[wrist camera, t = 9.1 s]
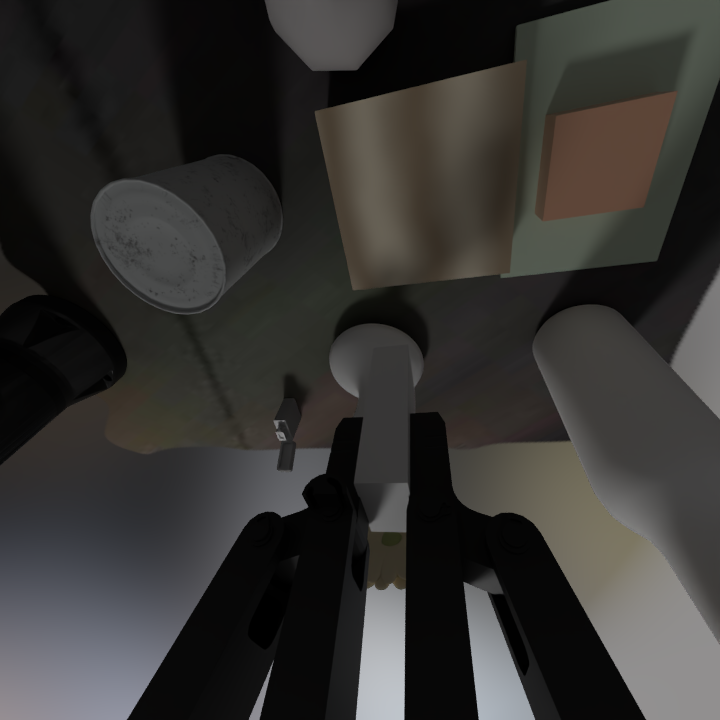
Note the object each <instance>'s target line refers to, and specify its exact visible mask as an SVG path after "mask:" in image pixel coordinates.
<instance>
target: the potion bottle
mask: <svg viewBox="0 0 720 720" xmlns="http://www.w3.org/2000/svg"><path fill="white" fill-rule="evenodd" d="M265 3H266V7H267V11H268V16H269V20H270V22H271V24H272V26H273V28H274V30H275V32H276V33H277V34H278V35H279V36H280V37H281V38H282V39H283V40H284V41H285V42H286V44H287V45H288V46H289V47H290V48H291V49H292V50H293V51H294V52H295V53H296V54H297V55H298V56H299V57H300V58H301V59H302V60H303V61H304V62H305V63H306V64H307V66H308V67H309V68H310V69H311V70H312V71H337V70H357V69H358V68H359V67H360V66H361V65H362V64H363V62H364V61H365V60H366V59H367V58H368V57H369V56H370V54H371V53H372V52H373V51H374V50H375V49H376V48H377V46H378V45H379V44H380V43H381V42H382V41H383V40H384V38H385V37H386V36H387V35H388V34H389V33H390V32H391V30H392V29H393V26H394V20H395V14H396V8H397V3H398V0H265Z"/></svg>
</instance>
